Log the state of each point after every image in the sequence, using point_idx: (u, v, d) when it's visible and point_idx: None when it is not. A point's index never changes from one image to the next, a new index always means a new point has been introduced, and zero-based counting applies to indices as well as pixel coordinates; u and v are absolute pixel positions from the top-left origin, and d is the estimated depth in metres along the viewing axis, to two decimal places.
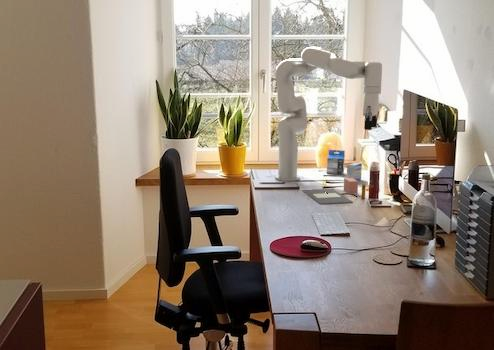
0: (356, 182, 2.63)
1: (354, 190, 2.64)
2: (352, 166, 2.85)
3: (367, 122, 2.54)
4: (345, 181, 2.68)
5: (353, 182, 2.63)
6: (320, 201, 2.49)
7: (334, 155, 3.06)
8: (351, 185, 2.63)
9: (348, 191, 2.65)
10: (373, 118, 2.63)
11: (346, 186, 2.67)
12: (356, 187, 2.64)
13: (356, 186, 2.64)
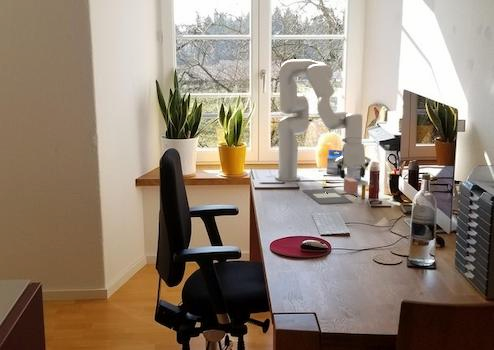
0: (356, 182, 2.63)
1: (354, 190, 2.64)
2: (352, 166, 2.85)
3: None
4: (345, 181, 2.68)
5: (353, 182, 2.63)
6: (320, 201, 2.49)
7: (334, 155, 3.06)
8: (351, 185, 2.63)
9: (348, 191, 2.65)
10: None
11: (346, 186, 2.67)
12: (356, 187, 2.64)
13: (356, 186, 2.64)
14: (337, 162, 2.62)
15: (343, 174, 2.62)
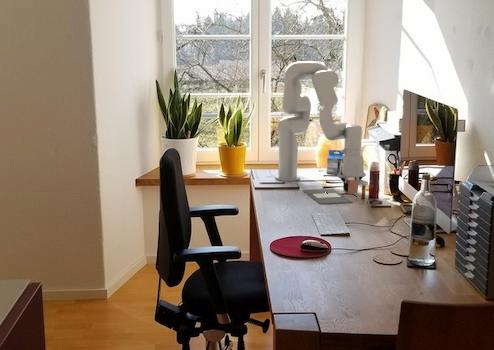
0: (356, 182, 2.63)
1: (354, 190, 2.64)
2: None
3: None
4: None
5: (353, 182, 2.63)
6: (320, 201, 2.49)
7: (334, 155, 3.06)
8: (351, 185, 2.63)
9: (348, 191, 2.65)
10: None
11: None
12: (356, 187, 2.64)
13: (356, 186, 2.64)
14: (339, 176, 2.64)
15: (346, 187, 2.65)
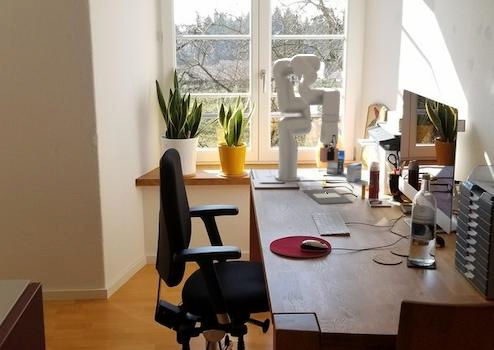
0: (322, 150, 2.52)
1: (321, 158, 2.54)
2: (352, 166, 2.85)
3: (331, 153, 2.51)
4: None
5: (321, 149, 2.54)
6: (320, 201, 2.49)
7: None
8: (320, 151, 2.55)
9: None
10: None
11: None
12: (322, 155, 2.53)
13: (322, 154, 2.53)
14: None
15: None
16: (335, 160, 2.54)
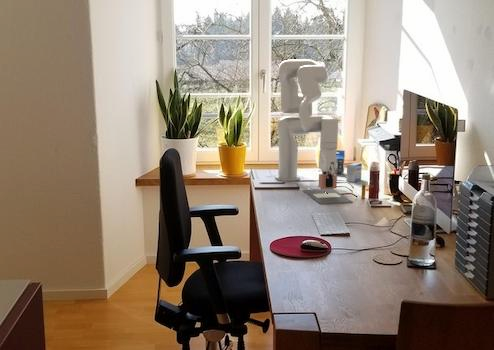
0: (321, 176, 2.55)
1: (320, 185, 2.56)
2: (352, 166, 2.85)
3: (330, 180, 2.54)
4: None
5: (320, 176, 2.56)
6: (320, 201, 2.49)
7: None
8: (319, 178, 2.57)
9: None
10: None
11: None
12: (321, 182, 2.55)
13: (321, 181, 2.55)
14: None
15: None
16: (333, 187, 2.56)
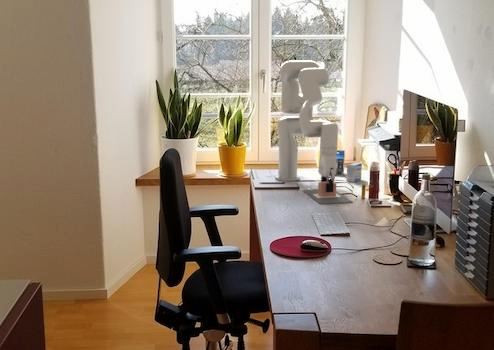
0: (320, 184, 2.56)
1: (320, 192, 2.57)
2: (352, 166, 2.85)
3: (330, 185, 2.53)
4: None
5: (319, 183, 2.57)
6: (320, 201, 2.49)
7: None
8: (318, 186, 2.58)
9: None
10: (324, 179, 2.60)
11: None
12: (320, 189, 2.56)
13: (320, 188, 2.56)
14: None
15: None
16: (333, 194, 2.57)
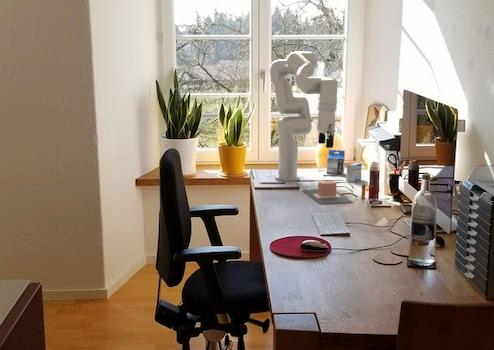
0: (320, 184, 2.56)
1: (320, 192, 2.57)
2: (352, 166, 2.85)
3: (330, 140, 2.50)
4: None
5: (319, 183, 2.57)
6: (320, 201, 2.49)
7: (334, 155, 3.06)
8: (318, 186, 2.58)
9: None
10: (322, 134, 2.59)
11: None
12: (320, 189, 2.56)
13: (320, 188, 2.56)
14: None
15: None
16: (333, 194, 2.57)
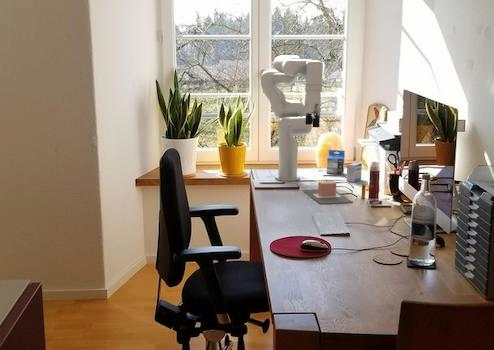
0: (320, 184, 2.56)
1: (320, 192, 2.57)
2: (352, 166, 2.85)
3: (316, 120, 2.58)
4: None
5: (319, 183, 2.57)
6: (320, 201, 2.49)
7: (334, 155, 3.06)
8: (318, 186, 2.58)
9: None
10: (309, 115, 2.68)
11: None
12: (320, 189, 2.56)
13: (320, 188, 2.56)
14: None
15: (305, 120, 2.69)
16: (333, 194, 2.57)
